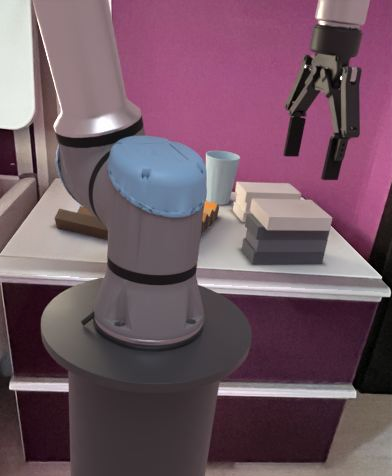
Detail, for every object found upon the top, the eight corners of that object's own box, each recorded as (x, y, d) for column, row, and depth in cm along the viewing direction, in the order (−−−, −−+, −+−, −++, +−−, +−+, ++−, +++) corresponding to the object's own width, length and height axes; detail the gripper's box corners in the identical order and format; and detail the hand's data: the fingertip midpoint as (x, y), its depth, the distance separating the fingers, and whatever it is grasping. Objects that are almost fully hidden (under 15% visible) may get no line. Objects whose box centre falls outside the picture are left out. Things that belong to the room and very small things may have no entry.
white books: (241, 222, 120) (246, 192, 116) (232, 210, 125) (236, 181, 122) (296, 223, 123) (302, 193, 119) (284, 211, 129) (290, 183, 125)
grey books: (251, 264, 102) (258, 226, 98) (240, 249, 107) (246, 213, 103) (322, 264, 106) (331, 227, 102) (308, 249, 111) (316, 214, 107)
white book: (267, 230, 97) (269, 216, 96) (249, 210, 105) (251, 198, 103) (329, 230, 100) (332, 217, 99) (308, 211, 108) (311, 199, 107)
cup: (227, 195, 134) (233, 150, 129) (238, 206, 128) (245, 160, 123) (197, 195, 132) (201, 150, 126) (207, 206, 126) (212, 159, 120)
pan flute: (54, 228, 106) (177, 257, 101) (54, 211, 105) (179, 240, 99) (112, 193, 127) (218, 216, 121) (113, 178, 125) (220, 201, 119)
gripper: (410, 36, 76) (368, 190, 88) (319, 19, 96) (294, 147, 107) (364, 32, 74) (327, 190, 85) (280, 15, 93) (259, 147, 105)
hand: (309, 167), depth 96 cm, fingers open, 13 cm apart
